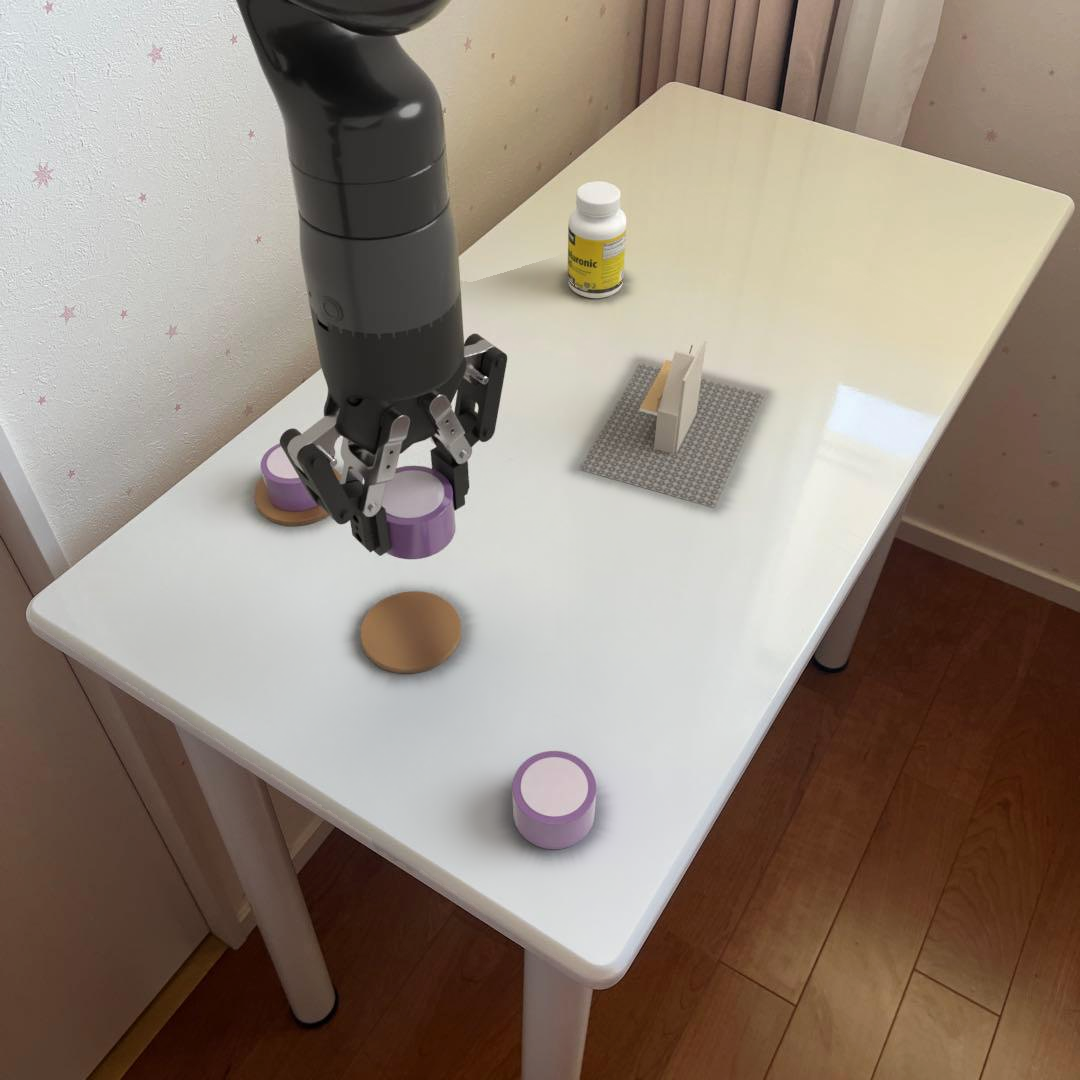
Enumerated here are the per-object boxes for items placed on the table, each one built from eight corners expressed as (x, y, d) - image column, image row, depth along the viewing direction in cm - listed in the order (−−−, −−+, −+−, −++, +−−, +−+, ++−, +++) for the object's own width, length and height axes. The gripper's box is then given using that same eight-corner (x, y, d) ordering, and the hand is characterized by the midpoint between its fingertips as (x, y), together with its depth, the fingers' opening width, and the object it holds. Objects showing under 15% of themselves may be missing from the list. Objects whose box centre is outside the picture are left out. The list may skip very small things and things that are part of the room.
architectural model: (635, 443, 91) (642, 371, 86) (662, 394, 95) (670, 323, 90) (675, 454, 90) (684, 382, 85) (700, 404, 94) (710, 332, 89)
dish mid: (406, 572, 65) (401, 537, 63) (357, 527, 67) (350, 491, 65) (472, 531, 67) (470, 495, 65) (422, 489, 70) (418, 453, 67)
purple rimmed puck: (551, 865, 65) (551, 840, 63) (496, 809, 68) (494, 783, 66) (611, 814, 68) (613, 788, 65) (556, 762, 70) (556, 735, 68)
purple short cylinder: (290, 521, 84) (283, 492, 82) (255, 487, 87) (247, 458, 84) (344, 490, 86) (339, 462, 84) (308, 458, 89) (302, 430, 87)
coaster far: (287, 539, 84) (285, 535, 83) (238, 492, 87) (236, 487, 87) (362, 496, 87) (361, 492, 86) (312, 452, 90) (311, 447, 90)
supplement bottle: (555, 280, 107) (556, 188, 100) (599, 262, 110) (603, 170, 102) (590, 307, 104) (593, 213, 97) (634, 287, 107) (641, 194, 99)
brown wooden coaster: (401, 691, 74) (400, 687, 74) (341, 630, 77) (340, 626, 77) (481, 636, 77) (481, 631, 77) (420, 580, 81) (419, 575, 80)
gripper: (450, 203, 60) (466, 440, 72) (217, 306, 53) (278, 547, 65) (543, 261, 56) (543, 500, 68) (303, 379, 49) (351, 620, 62)
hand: (413, 522), depth 67 cm, fingers closed on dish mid, 5 cm apart
